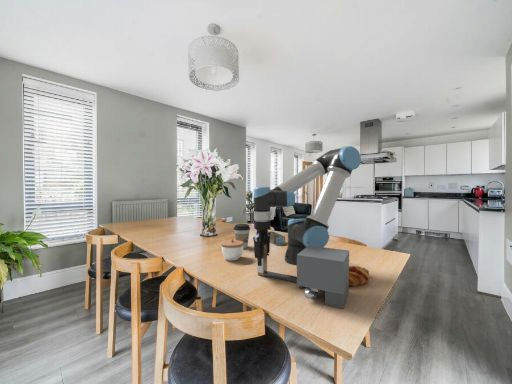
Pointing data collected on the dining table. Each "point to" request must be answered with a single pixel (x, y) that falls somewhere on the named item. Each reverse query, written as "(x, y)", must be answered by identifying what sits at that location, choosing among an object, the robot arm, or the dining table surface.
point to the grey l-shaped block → (325, 273)
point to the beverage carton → (277, 238)
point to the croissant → (358, 275)
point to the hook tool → (272, 274)
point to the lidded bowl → (232, 249)
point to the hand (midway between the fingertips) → (262, 270)
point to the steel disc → (311, 293)
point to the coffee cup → (242, 233)
